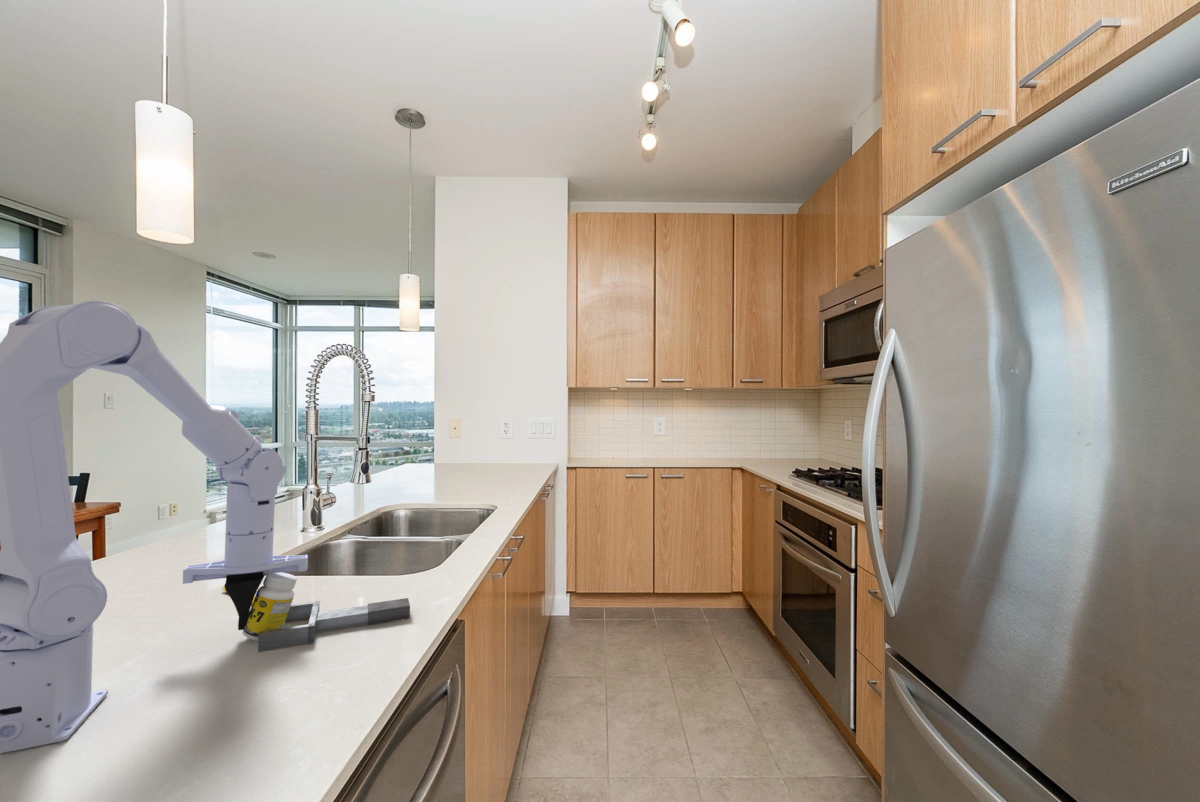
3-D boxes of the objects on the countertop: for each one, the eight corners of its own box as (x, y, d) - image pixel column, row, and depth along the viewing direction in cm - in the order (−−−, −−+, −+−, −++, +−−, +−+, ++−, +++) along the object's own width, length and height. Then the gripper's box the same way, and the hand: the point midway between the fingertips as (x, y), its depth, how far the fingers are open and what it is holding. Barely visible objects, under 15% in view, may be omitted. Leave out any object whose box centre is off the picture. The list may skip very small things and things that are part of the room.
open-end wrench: (411, 626, 77) (412, 610, 77) (257, 651, 68) (258, 633, 68) (406, 603, 86) (406, 589, 86) (269, 623, 77) (270, 607, 78)
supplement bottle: (235, 630, 72) (257, 570, 73) (270, 626, 76) (290, 570, 77) (251, 643, 69) (273, 582, 71) (285, 639, 73) (306, 581, 75)
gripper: (310, 521, 79) (307, 608, 79) (194, 528, 73) (190, 624, 73) (307, 531, 73) (303, 626, 73) (179, 540, 67) (175, 645, 66)
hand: (246, 626), depth 72 cm, fingers closed, pressing on supplement bottle
